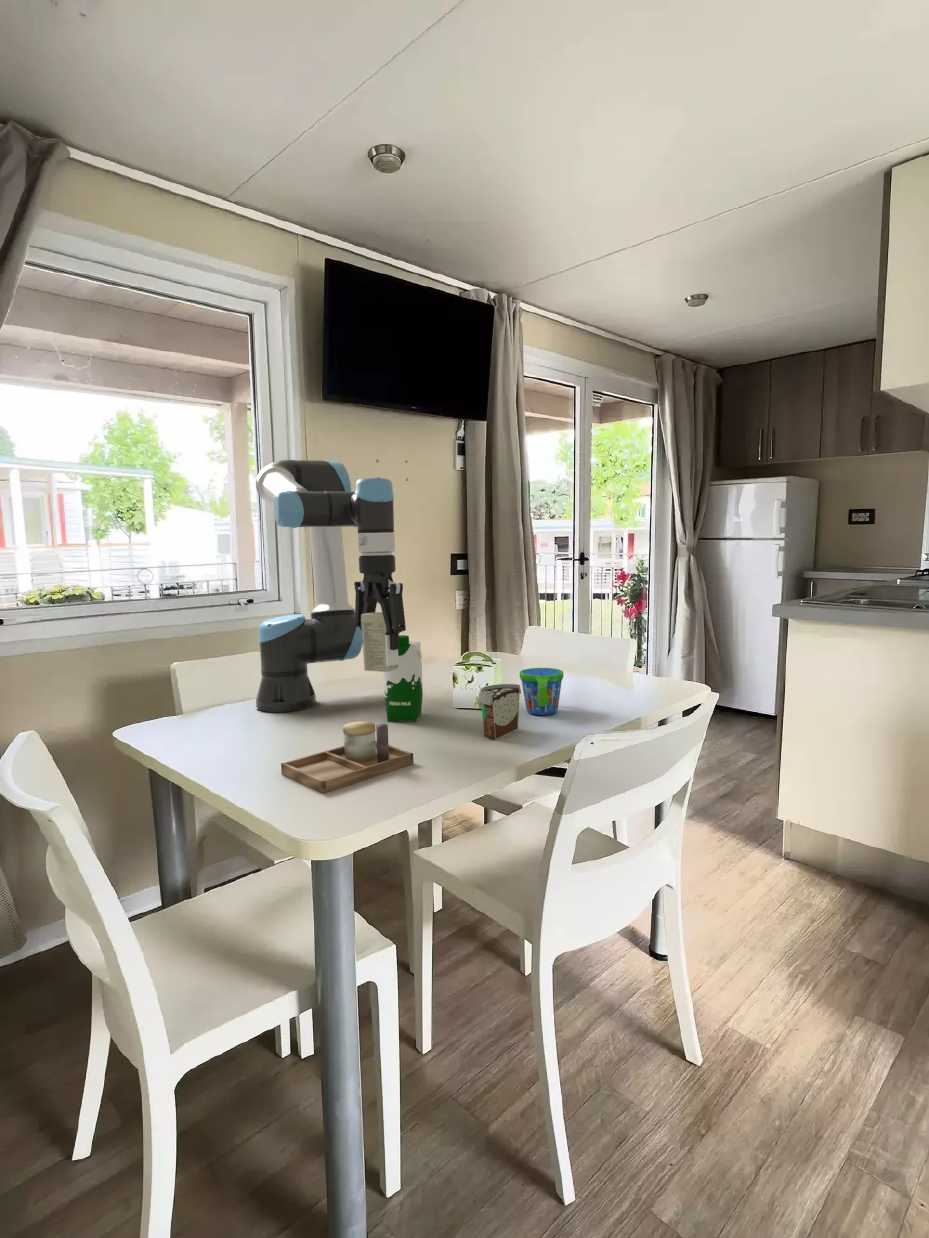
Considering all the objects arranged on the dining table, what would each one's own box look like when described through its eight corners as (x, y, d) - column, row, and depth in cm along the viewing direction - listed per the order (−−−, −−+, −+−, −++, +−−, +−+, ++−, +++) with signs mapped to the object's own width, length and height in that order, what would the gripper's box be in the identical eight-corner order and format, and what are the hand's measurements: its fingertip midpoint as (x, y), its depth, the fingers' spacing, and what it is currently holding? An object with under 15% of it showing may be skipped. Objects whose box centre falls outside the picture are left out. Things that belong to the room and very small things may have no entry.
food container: (498, 724, 151) (497, 681, 150) (521, 728, 147) (521, 684, 146) (467, 737, 141) (466, 692, 140) (491, 742, 137) (490, 695, 136)
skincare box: (399, 668, 141) (397, 612, 139) (388, 673, 137) (386, 614, 135) (373, 666, 143) (371, 611, 142) (362, 670, 139) (360, 613, 138)
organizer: (281, 773, 122) (279, 732, 121) (369, 748, 135) (368, 711, 134) (323, 793, 112) (321, 748, 111) (413, 763, 125) (412, 723, 125)
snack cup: (523, 703, 169) (522, 664, 168) (564, 704, 167) (564, 665, 166) (516, 720, 154) (516, 677, 152) (562, 721, 152) (562, 678, 150)
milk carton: (382, 722, 154) (379, 638, 152) (390, 712, 163) (387, 632, 161) (419, 722, 154) (417, 637, 151) (425, 712, 163) (423, 632, 160)
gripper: (334, 554, 141) (339, 659, 144) (392, 555, 127) (396, 671, 130) (363, 553, 147) (367, 654, 150) (422, 553, 132) (425, 665, 135)
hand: (380, 662), depth 140 cm, fingers closed on skincare box, 7 cm apart
